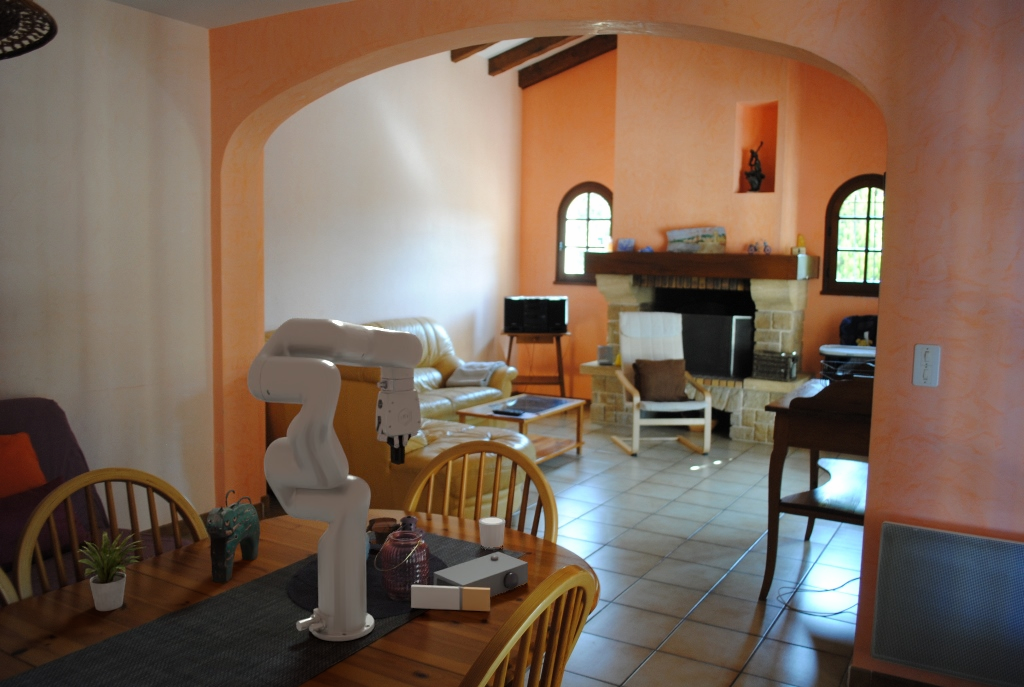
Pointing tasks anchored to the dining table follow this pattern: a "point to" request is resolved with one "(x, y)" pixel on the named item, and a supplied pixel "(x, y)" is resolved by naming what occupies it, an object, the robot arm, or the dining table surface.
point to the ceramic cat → (232, 536)
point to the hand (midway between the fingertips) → (397, 463)
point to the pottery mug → (382, 528)
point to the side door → (450, 597)
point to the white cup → (491, 531)
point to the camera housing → (485, 573)
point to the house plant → (108, 572)
